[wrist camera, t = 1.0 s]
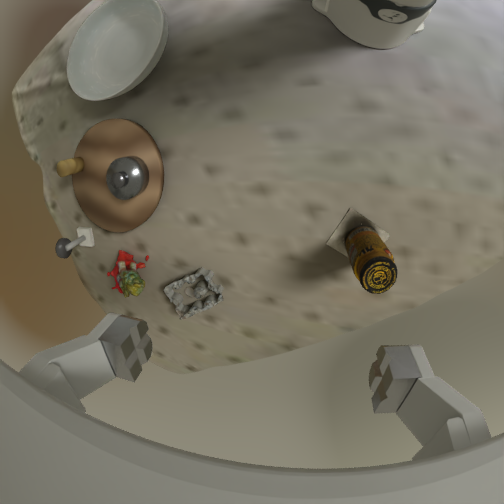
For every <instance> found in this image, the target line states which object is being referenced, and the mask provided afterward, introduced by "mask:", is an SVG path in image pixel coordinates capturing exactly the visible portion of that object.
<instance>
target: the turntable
mask: <svg viewBox="0 0 504 504" xmlns="http://www.w3.org/2000/svg"><path fill="white" fill-rule="evenodd" d="M127 156H137V157H139V158H141V159H142V160H143V161H144V162H145V163H146V165H147V167H148V170H149V183H148V186H147V188H146V189H145V191H144V192H143V193H141V194H139V195H137V196H135V197H133V198H130V199H128V200H121V199H118V198H116V197H115V196H114V195H113V194H112V193H111V192H110V190H109V188H108V186H107V181H106V174H107V170H108V168H109V166H110V164H111V163H112V162H113V161H114V160H116V159H118V158H122V157H127ZM57 173H58V175H59V176H60V177H64V176H68V175H71V174H72V181H73V187H74V191H75V195H76V198H77V200H78V202H79V205H80V206H81V208H82V210H83V211H84V213H85V214H86V215H87V216H88V218H89V219H90V220H91V221H92V222H94V223H95V224H96V225H98V226H99V227H101V228H103V229H105V230H108V231H112V232H126V231H129V230H132V229H134V228H136V227H138V226H139V225H141V224H142V223H144V222H145V221H146V220H147V219H148V218H149V217H150V216H151V215H152V214H153V212H154V211H155V209H156V207H157V206H158V204H159V201H160V198H161V195H162V191H163V185H164V168H163V162H162V157H161V154H160V151H159V149H158V147H157V144H156V142H155V141H154V139H153V138H152V136H151V135H150V134H149V133H148V132H147V131H146V130H145V129H144V128H143V127H142V126H140V125H139V124H137V123H135V122H133V121H130V120H126V119H108V120H104V121H102V122H100V123H97V124H96V125H94V126H93V127H92V128H91V129H89V130H88V131H87V132H86V134H85V135H84V136H83V138H82V139H81V141H80V142H79V144H78V146H77V149H76V152H75V155H74V158H71V159H67V160H63V161H60V162H59V163H58V164H57Z"/></svg>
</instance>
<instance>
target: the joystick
mask: <svg viewBox="0 0 504 504" xmlns="http://www.w3.org/2000/svg"><path fill="white" fill-rule="evenodd" d="M77 234H78V238H77V239H76V240H74V241H72V242H71V241H70V240H69V239H67V238H61V239H59V240H58V242H57V244H56V253H57V255H58V256H59V257H60V258H68V257H69V256H70V254H71V252H72V248H73V247H75V246H77V245H78V244H80V246H88V247H93V246H94V245H95V244H94V239H93V233H92V228H88V227H78V228H77Z"/></svg>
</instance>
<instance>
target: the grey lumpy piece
mask: <svg viewBox="0 0 504 504" xmlns="http://www.w3.org/2000/svg"><path fill="white" fill-rule="evenodd" d="M200 275H203V276H204V278H205V280H206V281H208V283H207V282H205V281H199V282H198V284H197V285H196V287H195V289H193V288H191V287H187V288H186V289H185V293H186V295H188V296H189V297H193V296H194V295H195V297H196V298H201V297H203V296H205V295H206V293H207V291H208V289H209V290H212V291H213V292H214V291H215V292H216V294H218V293H220V295H219V297H217V296H215V295H209V296H208V297H207V299H206V301H205V303H204V302H202V301H200V300H197V301H195V303H194V304H193V306H192V307H189V306H187V305H183V304H182V301H183V297H182V295H181V294H180V293H174V291H173V290H172V288H173V287H174V288H175V289H179V288H181V287H182V285H183V284H184V282H187V283H188V284H189V283H191V284H192V283H194V282H195V280H196V278H198V277H199V276H200ZM213 275H214V273H213V272H212V270H206V269H204V268H203V267H201V268H199V269H198V271H197V272H196V274H193V275H190V274H187V275H185V276H184V278H183V279H181V280H179V281H176V280H175V281H173V282H172V283H171V284H170V285H168V286H166V287H165V289H164V292H165V294H166V296H168V297H169V299H170V302H172V301H173V303H174V304H175V305H176V312H177V313H178V314H179V316H180V319H185V318H188V317H191V316H193V315H194V314H196V313H200V312H202V311H204V310H206V309H210V308H211V307H213V306H215V305H216V304H218V303H219V302H220V301H223V298H222V294H221V293H222V291H223V289H224V288H223V287H222V285H216V284H214V283H213V282H212V277H213Z"/></svg>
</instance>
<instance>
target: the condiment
mask: <svg viewBox="0 0 504 504" xmlns="http://www.w3.org/2000/svg"><path fill="white" fill-rule="evenodd" d="M389 236H390V235H389V234H388V233H386V232H385V231H384V230H382V229H381V228H380V227H378V226H377V225H375V224H374V223H373V222H371V221H370V220H368V219H367V218H365V217H364V216H362V215H361V214H359V213H358V212H356V211H355V210H353V209H352V208H351V209H350V210H349V212H348V213H347V214H346V216H345V217H344V219H343V220H342V221H341V223H340V224H339V226H338V227H337V229H336V230H335V232H334V233H333V235H332V236H331V237H330V239H329V240H328V242H327V243H326V244H327V245H329V246H330V247H332V248H333V249H335V250H336V251H338V252H340V253H341V254H343V255H345V256H346V257H348V258H349V260H350V263H351V265H352V269H353V272H354V274H355V276H356V278H357V279H358V280H359V281H360V283H361V285H362V287H363V288H364V289H365V290H367V291H368V292H370V293H377V294H380V293H383V292H385V291H387V290H389V289H390V288H391V287H392V285H393V284H394V283H395V281H396V278H397V267H396V265H395V263H394V258H393V256H392V254H391V252H390V251H389V249H388V248H387V246H386V245H385V242H386V240H387V239H388V238H389ZM343 239H344V240H343ZM343 241H344V242H343Z"/></svg>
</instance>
